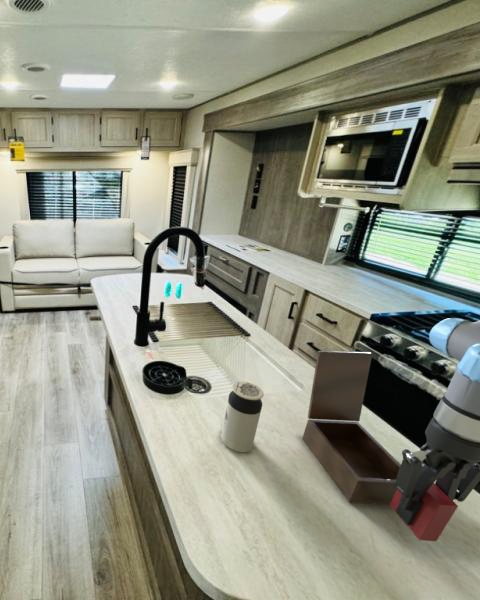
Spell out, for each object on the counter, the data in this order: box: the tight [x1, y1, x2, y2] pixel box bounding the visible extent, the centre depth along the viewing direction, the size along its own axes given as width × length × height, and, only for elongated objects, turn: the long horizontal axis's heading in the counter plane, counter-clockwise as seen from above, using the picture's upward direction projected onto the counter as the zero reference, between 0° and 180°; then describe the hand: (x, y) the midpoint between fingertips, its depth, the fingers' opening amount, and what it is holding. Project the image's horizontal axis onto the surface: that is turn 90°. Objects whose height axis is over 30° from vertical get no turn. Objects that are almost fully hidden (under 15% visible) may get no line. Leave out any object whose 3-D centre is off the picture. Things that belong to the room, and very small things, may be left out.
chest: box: [302, 419, 401, 506], centre depth 78 cm, size 19×13×7 cm
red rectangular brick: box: [389, 482, 459, 542], centre depth 61 cm, size 3×7×10 cm, turn 175°
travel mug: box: [220, 380, 265, 453], centre depth 85 cm, size 8×8×18 cm
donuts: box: [163, 280, 184, 299], centre depth 192 cm, size 10×10×10 cm
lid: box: [307, 350, 373, 422], centre depth 86 cm, size 20×13×6 cm
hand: (413, 518), depth 63 cm, fingers closed on red rectangular brick, 3 cm apart
